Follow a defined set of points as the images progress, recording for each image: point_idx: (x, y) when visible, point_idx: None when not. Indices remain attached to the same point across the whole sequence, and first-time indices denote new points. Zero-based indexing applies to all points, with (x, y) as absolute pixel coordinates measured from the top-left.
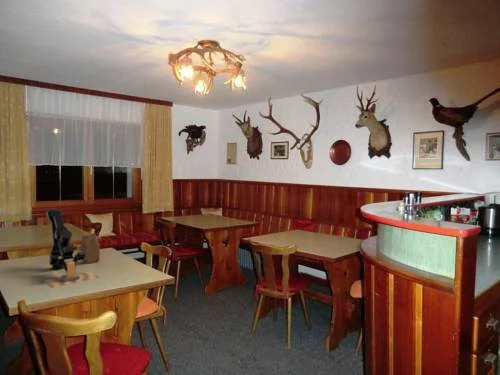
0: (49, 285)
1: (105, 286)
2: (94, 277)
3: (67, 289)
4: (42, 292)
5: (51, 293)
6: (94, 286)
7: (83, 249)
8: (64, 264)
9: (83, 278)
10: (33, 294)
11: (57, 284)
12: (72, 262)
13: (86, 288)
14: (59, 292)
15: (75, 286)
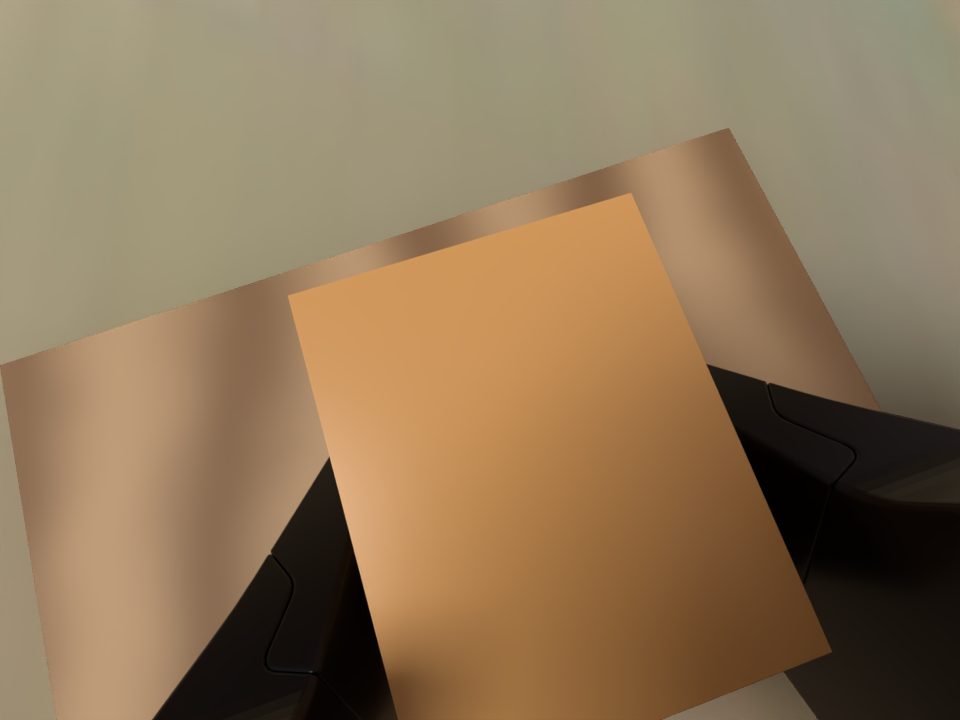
0: (783, 240)
1: (38, 15)
2: (85, 405)
3: (510, 77)
4: (804, 79)
5: (685, 7)
6: (171, 65)
7: None
8: (768, 405)
9: (274, 417)
10: (894, 48)
11: (671, 242)
12: (414, 390)
13: (277, 28)
14: (596, 7)
15: (412, 156)
